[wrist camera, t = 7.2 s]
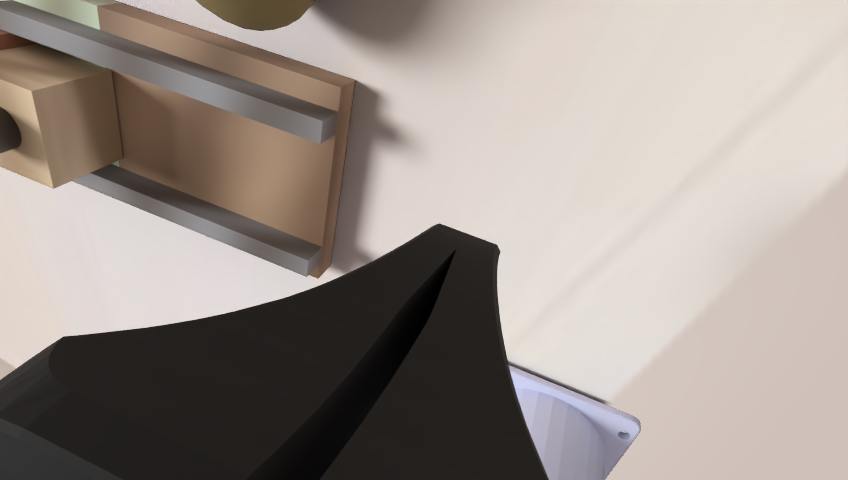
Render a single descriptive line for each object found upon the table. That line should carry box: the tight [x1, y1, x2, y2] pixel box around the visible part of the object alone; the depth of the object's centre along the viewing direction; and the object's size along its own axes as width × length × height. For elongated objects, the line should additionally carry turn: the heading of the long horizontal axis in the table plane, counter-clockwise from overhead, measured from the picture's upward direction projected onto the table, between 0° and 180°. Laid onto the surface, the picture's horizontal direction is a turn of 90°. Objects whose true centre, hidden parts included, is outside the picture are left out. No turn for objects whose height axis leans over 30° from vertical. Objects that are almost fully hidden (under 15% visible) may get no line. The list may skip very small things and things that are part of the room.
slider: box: [0, 44, 123, 189], centre depth 21 cm, size 4×4×5 cm
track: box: [0, 0, 355, 278], centre depth 22 cm, size 16×9×5 cm, turn 77°
